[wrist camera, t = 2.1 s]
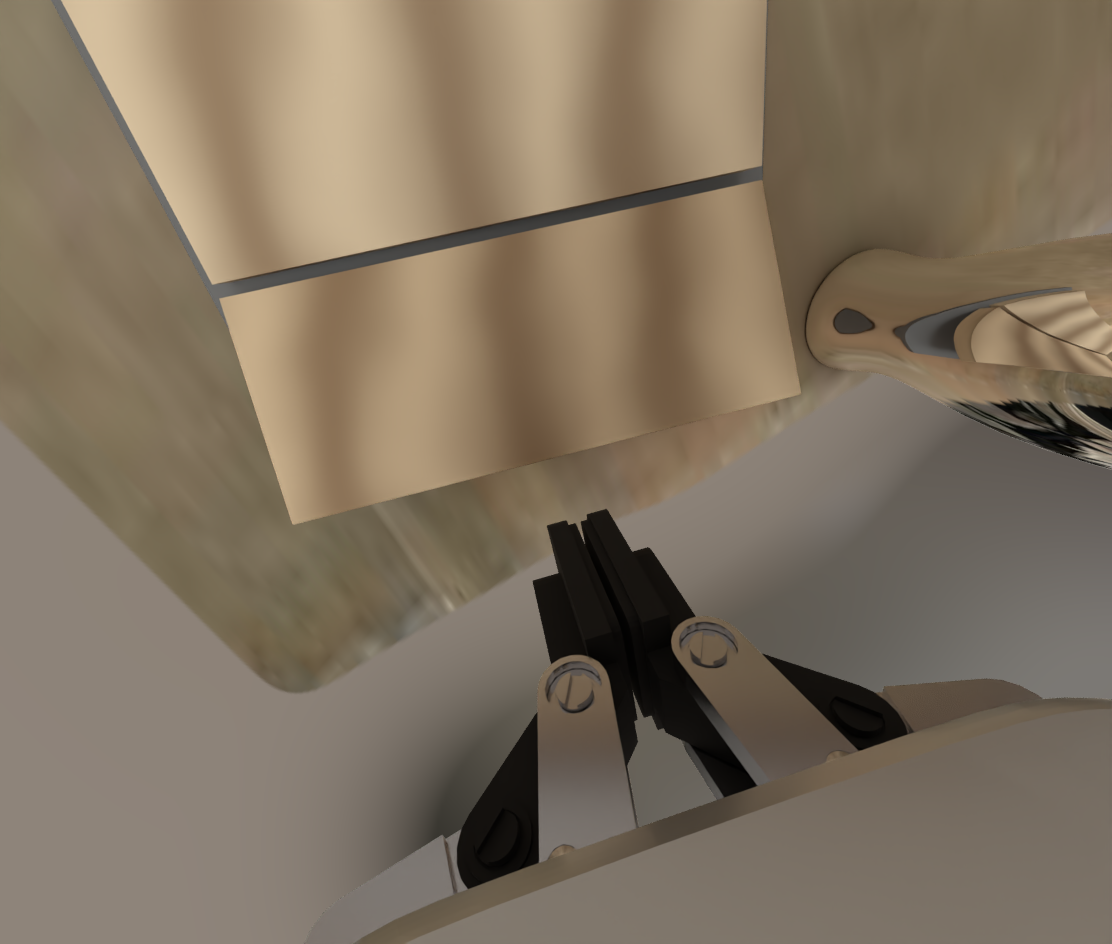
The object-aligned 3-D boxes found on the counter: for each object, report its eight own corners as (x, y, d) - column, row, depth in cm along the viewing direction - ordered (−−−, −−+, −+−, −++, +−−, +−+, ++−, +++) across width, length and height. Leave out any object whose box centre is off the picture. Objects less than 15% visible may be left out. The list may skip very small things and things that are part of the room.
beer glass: (776, 303, 22) (1221, 374, 9) (897, 206, 21) (1602, 127, 8) (822, 399, 25) (1202, 557, 12) (929, 320, 24) (1472, 398, 11)
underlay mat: (766, -161, 15) (773, -171, 14) (751, 391, 24) (755, 393, 24) (35, -43, 13) (23, -51, 13) (324, 499, 23) (322, 503, 22)
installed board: (745, -144, 15) (772, -183, 13) (741, 171, 19) (761, 165, 18) (70, -33, 13) (26, -65, 12) (231, 282, 17) (212, 284, 16)
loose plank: (743, 199, 19) (762, 179, 18) (780, 397, 20) (801, 394, 19) (243, 309, 18) (218, 298, 16) (310, 517, 19) (292, 524, 17)
